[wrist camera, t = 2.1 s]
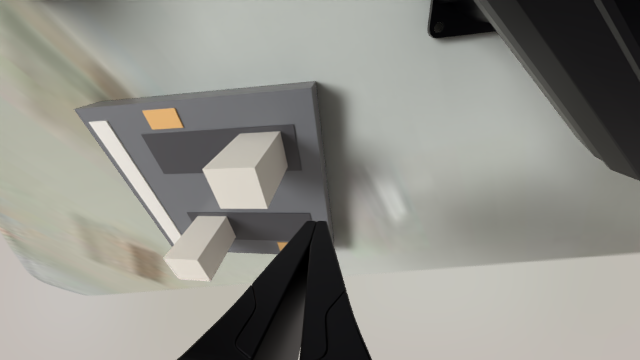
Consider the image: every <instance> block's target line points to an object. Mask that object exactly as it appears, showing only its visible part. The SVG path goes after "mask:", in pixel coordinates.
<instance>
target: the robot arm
mask: <svg viewBox="0 0 640 360" xmlns="http://www.w3.org/2000/svg"><path fill="white" fill-rule="evenodd" d="M438 22H441V24H442V28H441V30H440V31H439V32H437V33H436V32H435V31H434V27H435V25H436V24H437V23H438ZM494 31H497V32H498V34H499V35H500V36H501V38H502V39H503V40H504V42H505V43H506V44H507V46H508V47H509V48H510V50H511V51H512V52H513V54H514V55H515V56H516V58H517V59H518V60H519V62H520V63H521V64H522V66H523V67H524V68H525V70H526V71H527V72H528V74H529V75H530V76H531V78H532V79H533V80H534V82H535V83H536V84H537V85H538V87H539V88H540V89H541V91H542V92H543V93H544V95H545V96H546V97H547V99H548V100H549V101H550V103H551V104H552V105H553V107H554V108H555V109H556V111H557V112H558V113H559V115H560V116H561V117H562V119H563V120H564V121H565V123H566V124H567V125H568V127H569V128H570V129H571V131H572V132H573V133H574V135H575V136H576V137H577V138H578V139H579V140H580V141H581V142H582V143H583V145H584V146H585V147H586V148H587V149H588V150H589V151H590V152H591V153H592V154H593V155H594V156H595V157H597V158H599V159H601V160H602V161H603V162H604V163H605V164H606V166H607V167H608V168H610V169H611V170H613V171H616V172H619V173H621V174H624V175H626V176H629V177H632V178H634V179H637V180H639V181H640V0H431V5H430V13H429V21H428V34H429V36H431V37H433V38H442V37H451V36H459V35H468V34H476V33H485V32H494ZM300 347H301V351H300ZM299 351H300V360H372V359H371V356H370V354H369V352H368V349H367V347H366V345H365V342H364V340H363V338H362V335H361V333H360V330H359V328H358V325H357V322H356V320H355V317H354V314H353V311H352V308H351V305H350V302H349V298H348V294H347V292H346V288H345V284H344V281H343V277H342V273H341V270H340V266H339V263H338V259H337V256H336V252H335V249H334V245H333V241H332V238H331V234H330V231H329V227H328V224H327V221H306V222H305V223H304V225H303V226H302V227H301V228H300V229H299V230H298V231H297V233H296V234H295V235H294V236H293V237H292V238H291V240H290V241H289V242H288V243H287V244H286V245H285V247H284V248H283V249H282V250H281V251H280V252H279V253H278V255H277V256H276V257H275V258H274V259H273V260H272V262H271V263H270V264H269V265H268V266H267V267H266V268H265V270H264V271H263V272H262V273H261V274H260V275H259V277H258V278H257V279H256V280H255V281H254V282H253V284H252V286H250V287H249V288H248V289H247V290H246V292H245V293H244V294H243V295H242V296H241V297H240V298H239V299H238V300H237V302H236V303H235V304H234V305H233V306H232V307H231V308H230V309H229V310H228V311H227V312H226V313H225V314H224V315H223V316H222V317H221V318H220V319H219V320H218V321H217V322H216V323H215V324H214V325H213V326H212V327H211V328H210V329H209V330H208V331H207V332H206V333H205V334H204V335H203V336H202V337H201V338H200V339H198V340H197V341H196V343H194V344H193V345H192V346H191V347H190V348H189V349H188V350H187V351H186V352H185V353H184V354H183V355H182V356H181V357H179V358H178V359H177V360H298V356H299Z"/></svg>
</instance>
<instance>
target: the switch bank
mask: <svg viewBox="0 0 640 360" xmlns="http://www.w3.org/2000/svg"><path fill="white" fill-rule="evenodd" d="M74 110H75V111H76V113H77V114H78V115H79V117H80V118H81V120H82V121H83V122H84V124H85V125H86V127H87V128H88V129H89V131H90V132H91V134H92V135H93V137H94V138H95V139H96V141H97V142H98V144H99V145H100V146H101V148H102V149H103V151H104V152H105V153H106V155H107V156H108V158H109V159H110V160H111V162H112V163H113V165H114V166H115V167H116V169H117V170H118V172H119V173H120V174H121V176H122V177H123V179H124V180H125V181H126V183H127V184H128V186H129V187H130V188H131V190H132V191H133V193H134V194H135V195H136V197H137V198H138V200H139V201H140V202H141V204H142V205H143V207H144V208H145V209H146V211H147V212H148V214H149V215H150V216H151V218H152V219H153V221H154V222H155V223H156V225H157V226H158V228H159V229H160V230H161V232H162V233H163V235H164V236H165V237H166V239H167V240H168V242H169V243H170V244H171V246H172V247H173V246H174V244H175V243H176V242H177V241H178V239H179V238H180V237H181V236H182V235H183V233H184V232H185V231H186V230H187V229H188V227H189V226H190V225H191V224H192V222H193V221H194V220H195V219H196V218H197V216H227V219H228V221H229V223H230V225H231V227H232V229H233V232H234V234H235V236H236V238H235V239H234V241H233V243H232V245H231V247H230V248H229V250H228V252H236V253H261V254H278V253H279V252H280V251H281V250H282V249H283V248H284V247H285V245H286V244H287V243H288V242H289V241H290V240H291V238H292V237H293V236H294V235H295V234H296V233H297V231H298V230H299V229H300V228H301V227H302V226H303V225H304V223H305V222H306V221H327V224H328V227H329V231H330V234H331V238H332V241H333V245H334V237H333V228H332V219H331V210H330V202H329V193H328V184H327V175H326V166H325V158H324V149H323V140H322V131H321V122H320V114H319V105H318V96H317V87H316V81H312V82H301V83H291V84H280V85H270V86H259V87H248V88H238V89H227V90H217V91H206V92H195V93H185V94H174V95H164V96H153V97H143V98H132V99H121V100H111V101H100V102H96V103H93V104H89V105H86V106H83V107H80V108H76V109H74ZM277 131H280V133H281V137H282V142H283V146H284V151H285V155H286V160H287V165H288V167H287V169H286V171H285V173H284V176H283V178H282V180H281V182H280V184H279V186H278V188H277V190H276V192H275V194H274V196H273V199H272V201H271V203H270V205H269V207H268V209H221V208H220V206H219V204H218V202H217V200H216V198H215V196H214V193H213V191H212V189H211V187H210V185H209V183H208V181H207V178H206V176H205V174H204V172H203V170H202V169H203V168H204V167H205V166H206V165H207V164H208V163H209V162H210V161H211V160H212V159H213V158H215V157H216V156H217V155H218V154H219V153H220V152H221V151H222V150H223V149H224V148H225V147H226V146H227V145H228V144H229V143H230V142H231V141H232V140H234V139H235V138H236V137H237V136H238V135H239V134H242V133H259V132H277Z"/></svg>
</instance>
